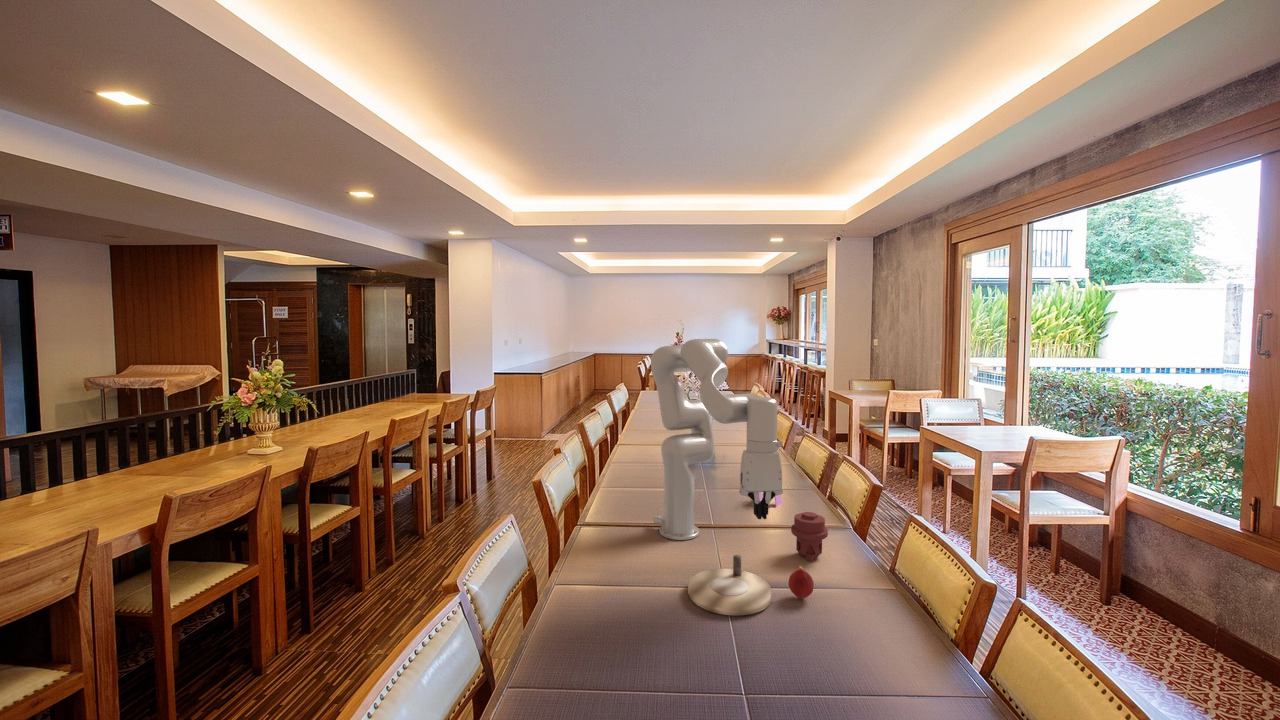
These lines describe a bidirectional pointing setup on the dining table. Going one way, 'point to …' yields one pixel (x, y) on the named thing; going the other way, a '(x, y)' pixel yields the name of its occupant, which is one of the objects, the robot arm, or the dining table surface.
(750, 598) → the turntable
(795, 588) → the onion
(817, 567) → the dining table surface
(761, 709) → the dining table surface
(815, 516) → the mechanical component
